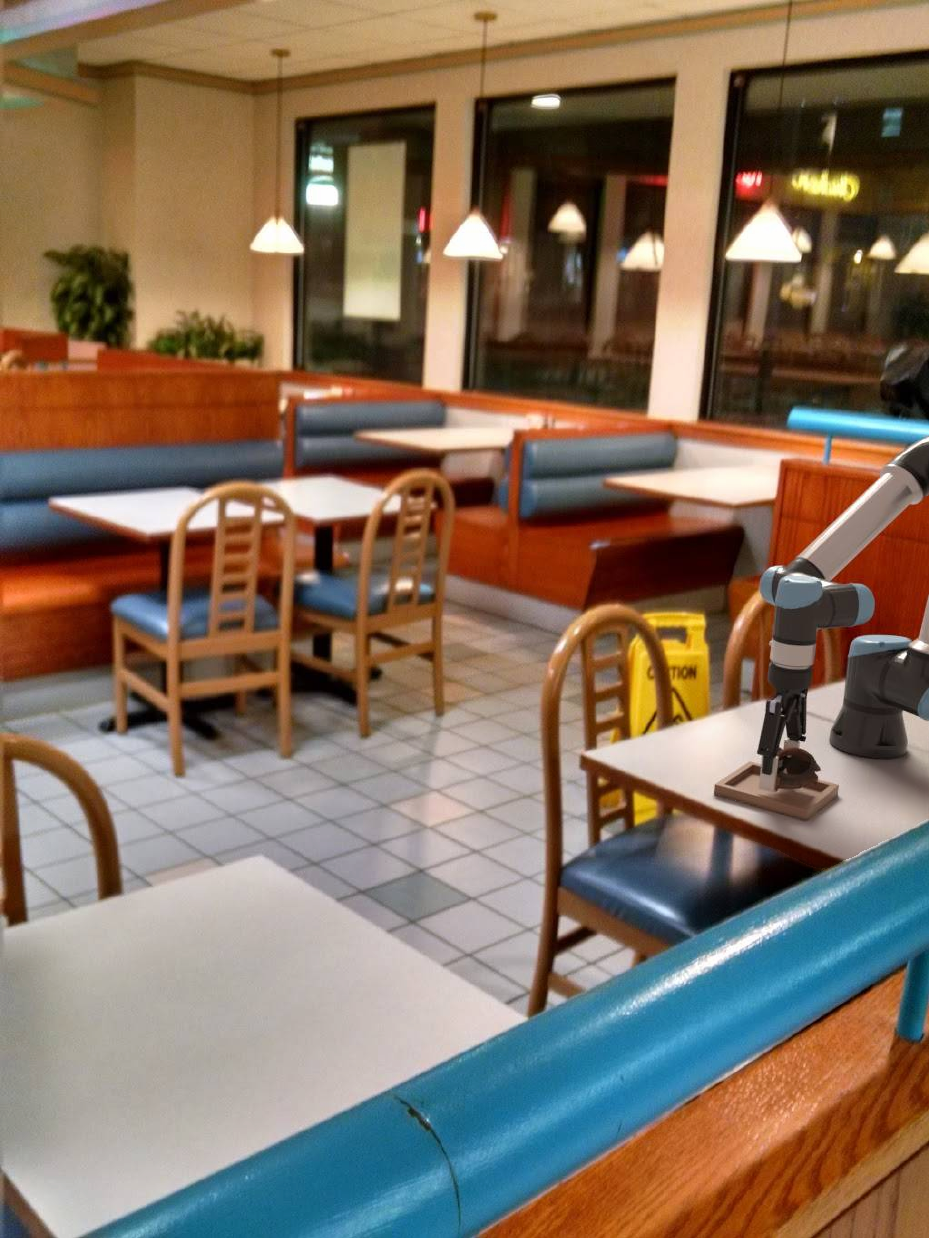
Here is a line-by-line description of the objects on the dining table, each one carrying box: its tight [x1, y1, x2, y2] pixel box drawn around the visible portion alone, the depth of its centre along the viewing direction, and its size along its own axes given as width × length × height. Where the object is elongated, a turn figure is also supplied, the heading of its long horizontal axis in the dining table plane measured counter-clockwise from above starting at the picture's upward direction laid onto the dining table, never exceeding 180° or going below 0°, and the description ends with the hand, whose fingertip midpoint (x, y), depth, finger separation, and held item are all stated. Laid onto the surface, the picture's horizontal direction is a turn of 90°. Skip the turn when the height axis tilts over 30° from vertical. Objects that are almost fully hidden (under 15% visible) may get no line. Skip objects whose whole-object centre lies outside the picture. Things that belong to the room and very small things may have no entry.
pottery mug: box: [775, 746, 822, 792], centre depth 218 cm, size 12×10×8 cm
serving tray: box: [713, 760, 840, 822], centre depth 220 cm, size 15×17×2 cm
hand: (777, 781), depth 220 cm, fingers closed on pottery mug, 9 cm apart
